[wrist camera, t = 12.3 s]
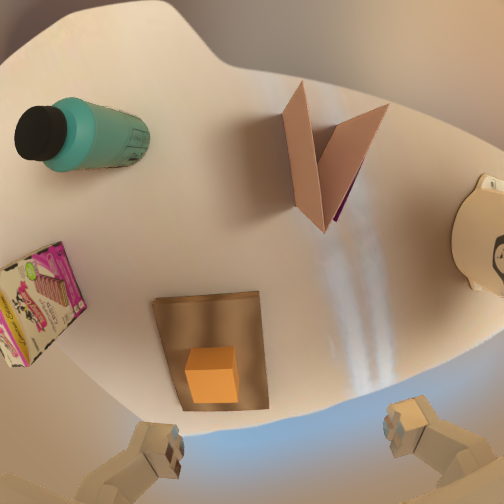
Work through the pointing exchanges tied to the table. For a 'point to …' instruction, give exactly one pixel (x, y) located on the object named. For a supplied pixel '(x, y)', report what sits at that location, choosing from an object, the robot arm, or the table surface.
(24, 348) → the candy bar box
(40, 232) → the table surface
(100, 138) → the beverage bottle
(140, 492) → the robot arm
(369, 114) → the greeting card
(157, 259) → the table surface
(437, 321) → the table surface
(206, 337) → the base plate
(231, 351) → the orange wooden cube
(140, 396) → the table surface
